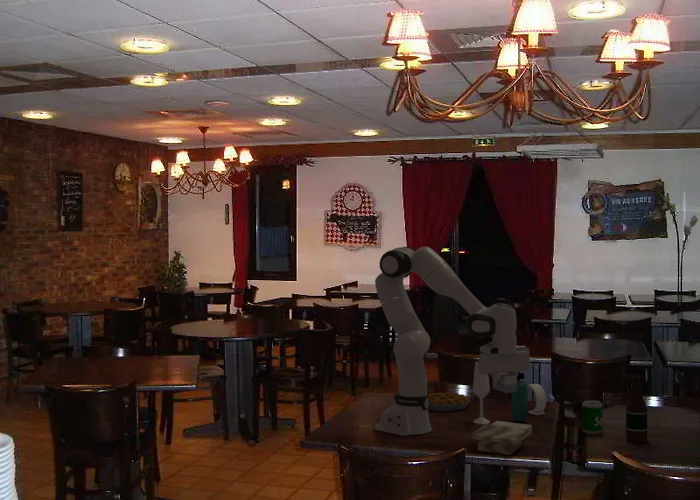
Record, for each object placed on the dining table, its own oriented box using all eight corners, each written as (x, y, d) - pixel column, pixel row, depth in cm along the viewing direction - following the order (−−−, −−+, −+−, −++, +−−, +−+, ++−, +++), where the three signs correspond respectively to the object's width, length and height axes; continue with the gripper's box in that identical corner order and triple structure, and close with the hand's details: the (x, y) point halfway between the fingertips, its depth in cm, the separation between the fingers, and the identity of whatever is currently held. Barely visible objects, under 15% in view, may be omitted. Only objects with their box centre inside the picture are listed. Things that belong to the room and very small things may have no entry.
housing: (492, 388, 295) (492, 372, 295) (504, 387, 297) (504, 371, 297) (504, 393, 287) (504, 376, 286) (516, 391, 288) (516, 375, 288)
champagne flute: (470, 422, 318) (470, 363, 317) (476, 419, 324) (475, 361, 323) (487, 424, 315) (486, 364, 314) (492, 420, 321) (491, 362, 320)
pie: (410, 404, 352) (410, 393, 352) (452, 399, 362) (452, 388, 362) (436, 415, 333) (436, 403, 332) (479, 409, 342) (479, 397, 342)
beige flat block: (486, 435, 299) (485, 428, 298) (496, 428, 309) (496, 420, 309) (522, 440, 292) (521, 432, 291) (531, 432, 302) (531, 425, 302)
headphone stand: (537, 411, 335) (537, 383, 335) (546, 414, 330) (546, 386, 329) (528, 412, 333) (528, 384, 333) (537, 416, 328) (537, 387, 327)
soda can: (589, 436, 296) (589, 404, 296) (578, 431, 303) (578, 400, 303) (606, 434, 298) (606, 403, 298) (595, 429, 305) (595, 398, 305)
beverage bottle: (528, 424, 314) (528, 374, 313) (511, 424, 315) (511, 374, 314) (528, 420, 320) (527, 371, 319) (511, 420, 322) (511, 371, 321)
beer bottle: (629, 436, 295) (629, 372, 294) (650, 440, 290) (650, 375, 289) (622, 441, 289) (622, 376, 288) (643, 444, 284) (643, 378, 283)
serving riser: (470, 451, 279) (470, 434, 279) (486, 439, 293) (486, 423, 293) (514, 457, 271) (513, 439, 271) (528, 445, 285) (528, 429, 285)
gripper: (524, 344, 297) (525, 380, 298) (475, 347, 291) (476, 384, 292) (533, 346, 291) (533, 383, 292) (483, 350, 285) (484, 388, 286)
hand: (504, 384), depth 292 cm, fingers closed on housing, 5 cm apart
